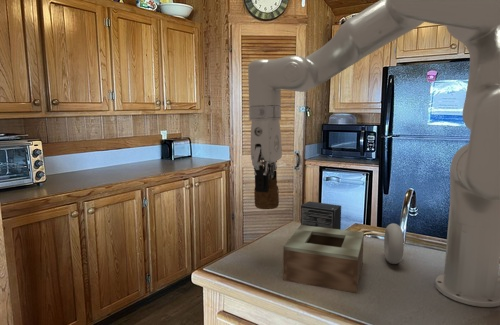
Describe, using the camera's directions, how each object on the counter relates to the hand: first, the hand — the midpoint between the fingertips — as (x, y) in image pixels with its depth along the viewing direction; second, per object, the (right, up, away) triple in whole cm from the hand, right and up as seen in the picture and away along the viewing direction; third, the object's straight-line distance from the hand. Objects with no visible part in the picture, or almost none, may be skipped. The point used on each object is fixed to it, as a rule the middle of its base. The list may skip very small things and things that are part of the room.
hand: (266, 188), depth 87 cm
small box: (+17, -17, +20) cm, 31 cm away
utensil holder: (0, -5, +1) cm, 5 cm away
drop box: (+14, -20, -2) cm, 24 cm away
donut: (+32, -19, +3) cm, 37 cm away
